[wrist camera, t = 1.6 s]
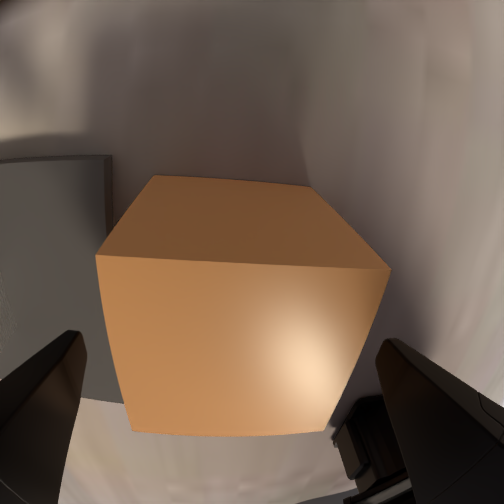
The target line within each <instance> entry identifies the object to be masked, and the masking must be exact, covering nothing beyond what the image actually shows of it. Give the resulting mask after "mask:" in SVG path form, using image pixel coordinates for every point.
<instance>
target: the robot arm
mask: <svg viewBox="0 0 504 504" xmlns="http://www.w3.org/2000/svg"><path fill="white" fill-rule="evenodd" d="M86 364H87V350H86V346H85V342H84V338H83V335H82V333H81V332H80V331H77V330H67V331H65V332H64V333H62V334H61V335H60V336H58V337H57V338H56V339H54V340H53V341H52V342H50V343H49V344H48V345H46V346H45V347H44V348H42V349H41V350H40V351H38V352H37V353H36V354H34V355H33V356H32V357H30V358H29V359H28V360H26V361H25V362H24V363H23V364H21V365H20V366H19V367H17V368H16V369H15V370H13V371H12V372H11V373H10V374H8V375H7V376H6V377H5V378H3V379H2V380H1V381H0V504H58V499H59V493H60V487H61V482H62V476H63V471H64V466H65V462H66V457H67V453H68V448H69V444H70V440H71V435H72V431H73V427H74V423H75V420H76V416H77V412H78V408H79V404H80V398H81V392H82V386H83V380H84V375H85V369H86ZM375 364H376V369H377V373H378V377H379V381H380V385H381V389H382V393H383V395H382V396H375V397H368V398H362V399H360V400H358V401H357V402H356V403H355V405H354V406H353V408H352V410H351V412H350V414H349V415H348V417H347V419H346V421H345V422H344V424H343V426H342V428H341V429H340V431H339V433H338V434H337V436H336V438H335V439H334V441H333V445H334V447H335V448H338V449H339V452H340V455H341V458H342V461H343V464H344V467H345V471H346V474H347V477H348V478H349V479H350V480H354V479H355V482H356V485H357V489H358V491H359V494H357V495H355V496H353V497H351V496H350V497H347V498H345V499H343V503H344V504H504V408H503V407H502V406H500V405H498V404H497V403H495V402H493V401H492V400H490V399H489V398H487V397H486V396H484V395H483V394H481V393H480V392H477V390H475V389H474V388H472V387H470V386H469V385H467V384H466V383H464V382H463V381H461V380H460V379H458V378H457V377H455V376H454V375H452V374H451V373H449V372H448V371H446V370H445V369H443V368H442V367H440V366H439V365H437V364H436V363H434V362H433V361H431V360H429V359H428V358H426V357H425V356H423V355H422V354H420V353H419V352H417V351H416V350H414V349H413V348H411V347H410V346H408V345H407V344H405V343H404V342H402V341H401V340H399V339H397V338H389V339H385V340H384V341H383V343H382V345H381V348H380V350H379V352H378V354H377V356H376V360H375Z"/></svg>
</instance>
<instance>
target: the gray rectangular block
mask: <svg viewBox="0 0 504 504" xmlns="http://www.w3.org/2000/svg"><path fill="white" fill-rule="evenodd" d="M16 328H17V325H16V322H15V319H14V316H13V313H12V310H11V307H10V304H9V301H8V298H7V294H6V291H5V288H4V284H3V280H2V277H1V273H0V353H1V352H2V350H3V348H4V347H5V345H6V343H7V342H8V340H9V339H10V337H11V335H12V334H13V332H14V331H15V329H16Z"/></svg>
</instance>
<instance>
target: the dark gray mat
mask: <svg viewBox="0 0 504 504" xmlns="http://www.w3.org/2000/svg"><path fill="white" fill-rule="evenodd" d="M112 230H113V211H112V155H79V156H51V157H33V158H18V159H6V160H0V273H1V277H2V280H3V284H4V288H5V291H6V294H7V298H8V301H9V304H10V307H11V310H12V313H13V316H14V319H15V322H16V325H17V328H16V329H15V331H14V332H13V334H12V335H11V337H10V339H9V340H8V342H7V343H6V345H5V347H4V348H3V350H2V352H1V353H0V379H3V378H5V377H6V376H7V375H8V374H10V373H11V372H12V371H13V370H15V369H16V368H17V367H19V366H20V365H21V364H23V363H24V362H25V361H26V360H28V359H29V358H30V357H32V356H33V355H34V354H36V353H37V352H38V351H40V350H41V349H42V348H44V347H45V346H46V345H48V344H49V343H50V342H52V341H53V340H54V339H56V338H57V337H58V336H60V335H61V334H62V333H64V332H65V331H67V330H77V331H80V332H81V333H82V335H83V338H84V342H85V346H86V350H87V364H86V369H85V375H84V380H83V386H82V392H81V397H82V398H88V399H94V400H101V401H107V402H115V403H122V404H124V401H123V397H122V394H121V390H120V386H119V382H118V378H117V374H116V370H115V366H114V362H113V357H112V353H111V348H110V344H109V339H108V334H107V329H106V324H105V318H104V312H103V307H102V301H101V294H100V288H99V281H98V273H97V265H96V257H95V255H96V253H97V252H98V250H99V249H100V247H101V246H102V244H103V243H104V241H105V240H106V238H107V237H108V236H109V234H110V233H111V231H112Z"/></svg>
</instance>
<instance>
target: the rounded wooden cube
mask: <svg viewBox="0 0 504 504" xmlns="http://www.w3.org/2000/svg"><path fill="white" fill-rule="evenodd" d="M95 257H96V265H97V273H98V281H99V288H100V294H101V301H102V307H103V312H104V318H105V324H106V329H107V334H108V339H109V344H110V348H111V353H112V357H113V362H114V366H115V370H116V374H117V378H118V382H119V386H120V390H121V394H122V397H123V401H124V404H125V408H126V411H127V415H128V418H129V421H130V425H131V428H132V431H138V432H147V433H158V434H171V435H188V436H266V435H283V434H296V433H307V432H316V431H324V429H325V427H326V425H327V423H328V421H329V419H330V417H331V415H332V413H333V411H334V409H335V407H336V405H337V403H338V401H339V399H340V397H341V395H342V393H343V391H344V389H345V386H346V384H347V382H348V380H349V378H350V376H351V373H352V371H353V369H354V367H355V364H356V362H357V360H358V357H359V355H360V353H361V350H362V348H363V346H364V343H365V341H366V338H367V336H368V333H369V331H370V328H371V326H372V323H373V321H374V318H375V315H376V313H377V310H378V307H379V305H380V302H381V299H382V296H383V294H384V291H385V288H386V285H387V282H388V279H389V276H390V273H391V269H390V268H389V266H388V265H387V264H386V263H385V262H384V261H383V260H382V259H381V258H380V257H379V256H378V255H377V253H376V252H375V251H374V250H373V249H372V248H371V247H370V246H369V245H368V244H367V243H366V242H365V241H364V240H363V239H362V238H361V237H360V236H359V235H358V233H357V232H356V231H355V230H354V229H353V228H352V227H351V226H350V225H349V224H348V223H347V222H346V221H345V220H344V219H343V218H342V217H341V216H340V215H339V214H338V213H337V212H336V211H335V210H334V209H333V208H332V207H331V206H330V205H329V204H328V203H327V202H326V201H325V200H324V199H323V198H322V197H321V196H319V195H318V194H317V193H316V192H315V191H314V190H313V189H312V188H311V187H306V186H297V185H288V184H278V183H267V182H256V181H244V180H232V179H217V178H202V177H183V176H161V175H154V176H153V177H152V178H151V179H150V181H149V182H148V183H147V184H146V186H145V187H144V188H143V190H142V191H141V192H140V193H139V195H138V196H137V197H136V199H135V200H134V201H133V203H132V204H131V205H130V207H129V208H128V209H127V211H126V212H125V213H124V215H123V216H122V217H121V219H120V220H119V222H118V223H117V224H116V226H115V227H114V229H113V230H112V231H111V233H110V234H109V236H108V237H107V238H106V240H105V241H104V243H103V244H102V246H101V247H100V249H99V250H98V252H97V253H96V255H95Z"/></svg>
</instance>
